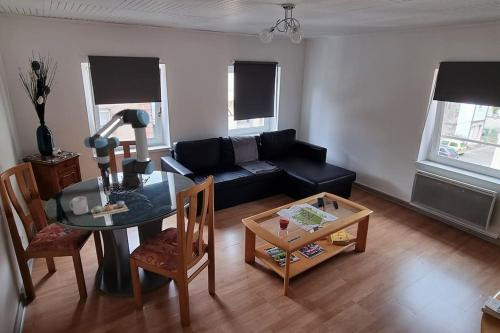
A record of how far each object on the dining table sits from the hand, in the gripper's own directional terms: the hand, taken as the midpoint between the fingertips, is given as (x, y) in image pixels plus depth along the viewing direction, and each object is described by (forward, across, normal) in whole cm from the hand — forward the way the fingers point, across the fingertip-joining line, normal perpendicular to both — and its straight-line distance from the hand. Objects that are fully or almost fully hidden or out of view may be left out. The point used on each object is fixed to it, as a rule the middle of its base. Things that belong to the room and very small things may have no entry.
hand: (108, 194), depth 210 cm
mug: (+12, -8, -18) cm, 24 cm away
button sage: (+11, 0, -8) cm, 14 cm away
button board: (+12, 0, 0) cm, 12 cm away
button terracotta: (+12, 0, 0) cm, 12 cm away
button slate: (+11, 0, +7) cm, 13 cm away
